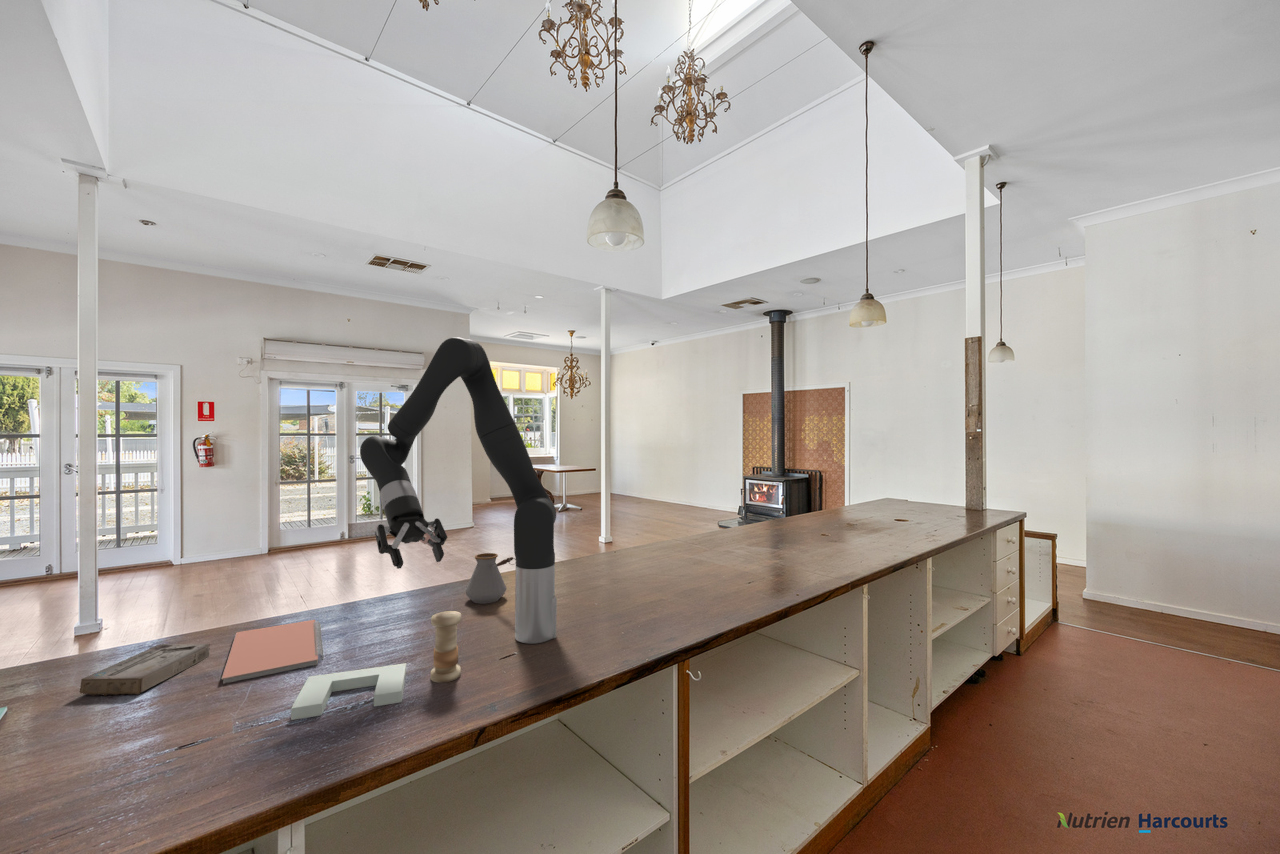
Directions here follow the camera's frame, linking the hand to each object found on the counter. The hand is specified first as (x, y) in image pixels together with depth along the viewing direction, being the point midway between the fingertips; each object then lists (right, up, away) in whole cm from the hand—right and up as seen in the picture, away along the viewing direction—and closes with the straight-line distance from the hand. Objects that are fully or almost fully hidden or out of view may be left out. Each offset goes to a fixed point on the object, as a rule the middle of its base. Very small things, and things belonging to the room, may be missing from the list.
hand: (420, 563), depth 112 cm
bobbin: (+9, -20, -8) cm, 24 cm away
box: (-51, -21, -9) cm, 55 cm away
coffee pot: (+6, -21, +36) cm, 42 cm away
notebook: (-34, -21, +3) cm, 40 cm away
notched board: (-6, -20, -16) cm, 26 cm away
